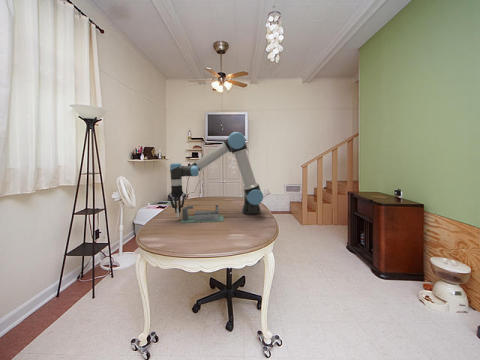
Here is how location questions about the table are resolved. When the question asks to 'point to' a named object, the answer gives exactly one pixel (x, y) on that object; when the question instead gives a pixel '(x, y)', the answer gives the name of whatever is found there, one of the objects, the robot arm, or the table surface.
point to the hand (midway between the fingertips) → (178, 217)
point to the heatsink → (206, 215)
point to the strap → (205, 209)
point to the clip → (186, 212)
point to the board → (191, 220)
